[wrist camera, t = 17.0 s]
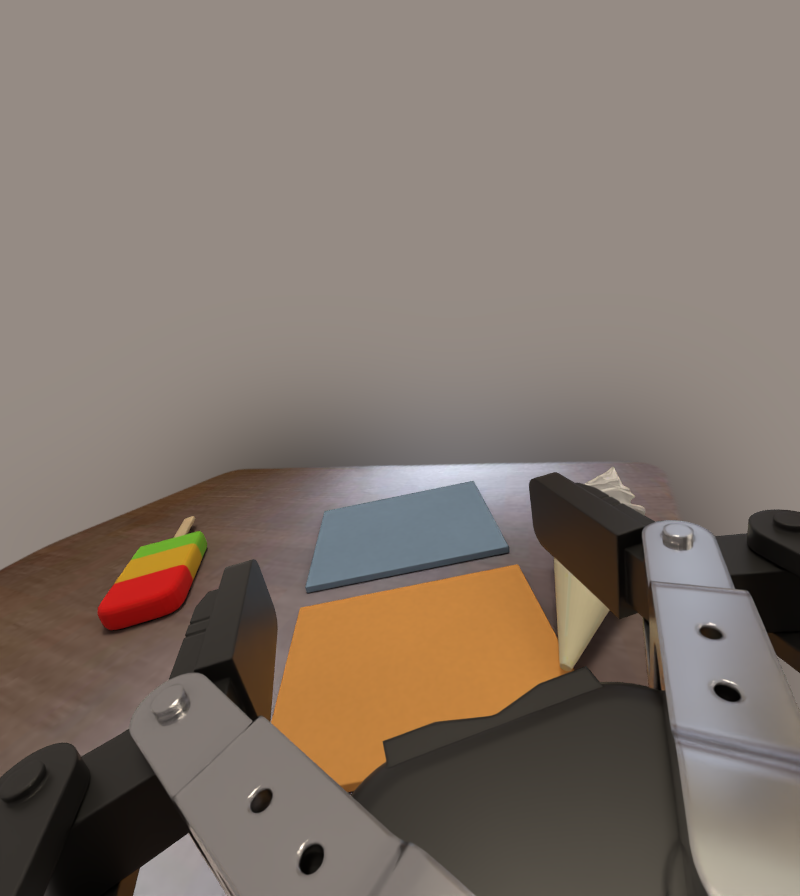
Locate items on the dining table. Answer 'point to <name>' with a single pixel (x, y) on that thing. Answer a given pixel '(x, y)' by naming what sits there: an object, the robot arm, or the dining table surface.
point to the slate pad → (403, 536)
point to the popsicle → (154, 580)
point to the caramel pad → (409, 665)
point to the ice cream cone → (583, 589)
